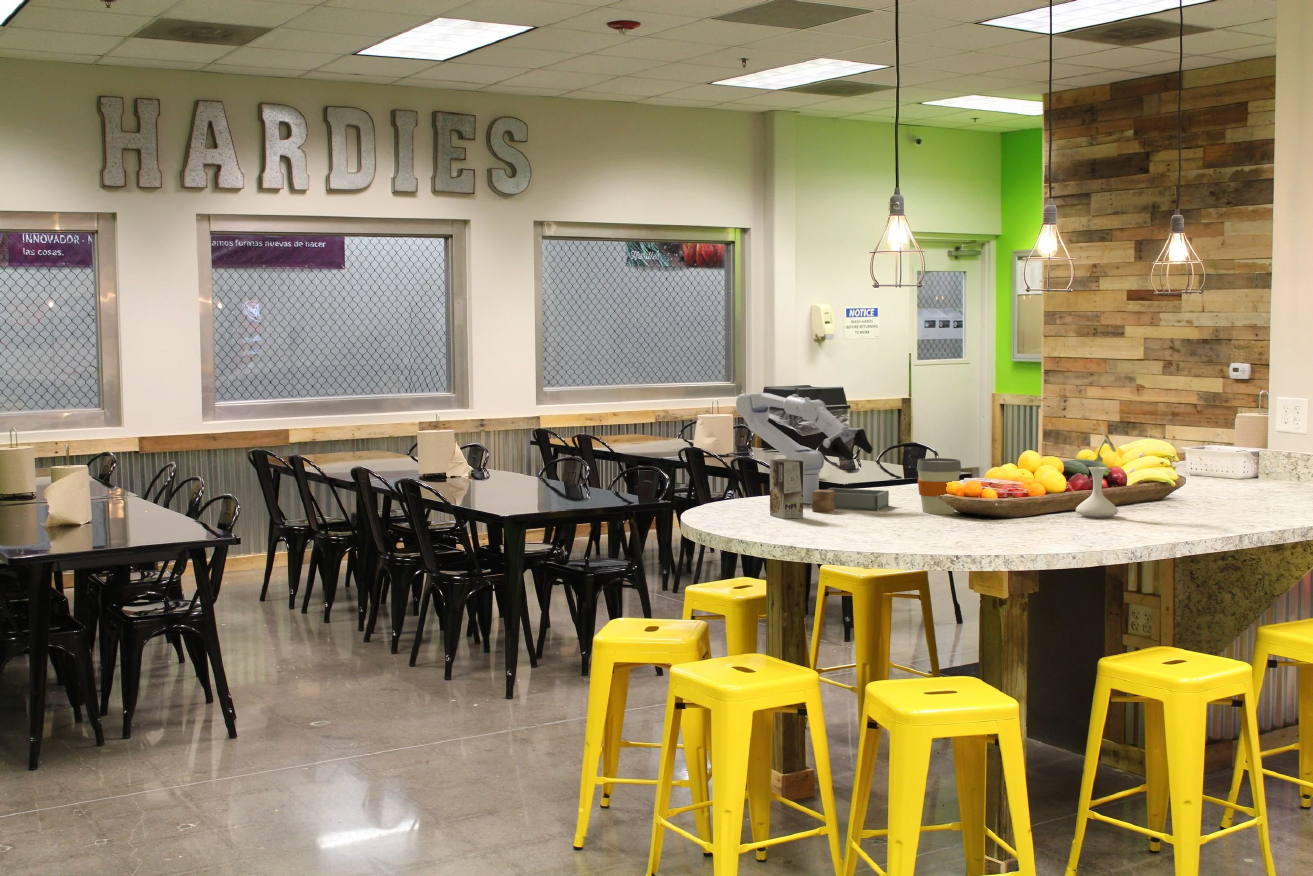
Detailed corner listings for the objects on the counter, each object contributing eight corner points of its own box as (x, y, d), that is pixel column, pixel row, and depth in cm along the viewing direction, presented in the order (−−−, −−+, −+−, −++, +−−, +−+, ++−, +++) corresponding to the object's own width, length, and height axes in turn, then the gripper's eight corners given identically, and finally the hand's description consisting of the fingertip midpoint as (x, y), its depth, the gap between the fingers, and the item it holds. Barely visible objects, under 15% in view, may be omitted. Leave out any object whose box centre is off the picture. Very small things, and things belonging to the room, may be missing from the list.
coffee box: (804, 518, 379) (804, 460, 378) (783, 519, 376) (783, 461, 375) (789, 513, 387) (789, 457, 386) (768, 515, 385) (768, 458, 384)
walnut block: (812, 512, 392) (812, 491, 391) (818, 509, 396) (818, 489, 396) (829, 512, 390) (829, 492, 389) (834, 510, 394) (834, 490, 394)
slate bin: (818, 507, 401) (818, 492, 400) (830, 502, 412) (830, 488, 411) (877, 510, 393) (877, 495, 393) (888, 505, 404) (888, 490, 404)
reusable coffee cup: (964, 514, 383) (965, 462, 382) (920, 515, 383) (920, 462, 382) (955, 509, 396) (956, 458, 394) (912, 509, 396) (913, 458, 395)
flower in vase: (1110, 520, 370) (1112, 429, 368) (1069, 517, 376) (1071, 428, 375) (1125, 515, 380) (1127, 426, 378) (1085, 512, 387) (1087, 425, 385)
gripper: (817, 422, 397) (847, 450, 389) (853, 411, 405) (883, 437, 397) (811, 441, 402) (840, 468, 394) (847, 429, 409) (876, 456, 402)
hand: (861, 454), depth 396 cm, fingers open, 7 cm apart
